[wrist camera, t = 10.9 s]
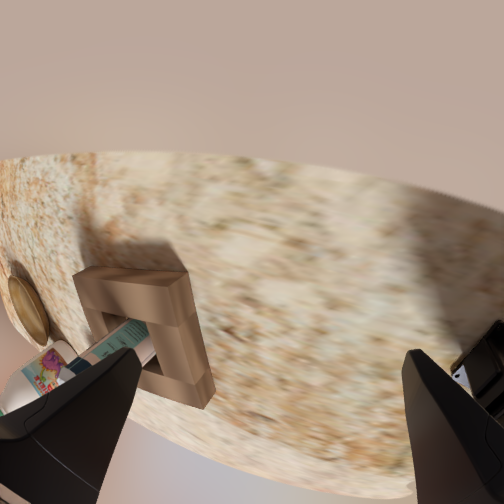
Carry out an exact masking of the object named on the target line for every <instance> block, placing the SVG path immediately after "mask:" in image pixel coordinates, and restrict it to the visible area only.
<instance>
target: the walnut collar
mask: <svg viewBox="0 0 504 504" xmlns="http://www.w3.org/2000/svg"><path fill="white" fill-rule="evenodd" d="M72 277H73V280H74V284H75V287H76V290H77V293H78V296H79V299H80V302H81V305H82V308H83V311H84V314H85V316H86V319H87V322H88V324H89V327H90V330H91V332H92V335H93V337H94V340H95V342H97V341H99V340H100V339H101V338H103V337H104V336H105V335H107V334H108V333H109V332H111V331H112V330H113V329H115V328H116V327H117V326H119V325H120V324H121V323H122V322H124V321H125V320H126V319H125V317H128V318H132V319H137V320H142V321H145V322H146V325H147V328H148V332H149V335H150V338H151V341H152V344H153V347H154V350H155V352H156V354H155V355H154V356H153V357H152V358H151V359H150V360H149V361H148V362H147V363H146V364H145V365H144V366H143V367H142V372H141V375H140V379H139V382H138V385H137V388H140V389H142V390H145V391H148V392H150V393H153V394H156V395H159V396H161V397H164V398H167V399H170V400H173V401H176V402H179V403H182V404H186V405H189V406H192V407H195V408H199V409H202V410H203V409H204V408H205V407H206V405H207V404H208V402H209V401H210V399H211V398H212V396H213V395H214V394H215V392H216V389H215V386H214V382H213V378H212V374H211V371H210V367H209V363H208V359H207V355H206V351H205V347H204V343H203V339H202V334H201V330H200V326H199V321H198V317H197V313H196V308H195V303H194V299H193V294H192V289H191V284H190V279H189V274H188V272H172V271H155V270H139V269H124V268H110V267H97V266H90V267H88V268H86V269H84V270H82V271H80V272H78V273H76V274H75V275H73V276H72Z"/></svg>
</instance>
